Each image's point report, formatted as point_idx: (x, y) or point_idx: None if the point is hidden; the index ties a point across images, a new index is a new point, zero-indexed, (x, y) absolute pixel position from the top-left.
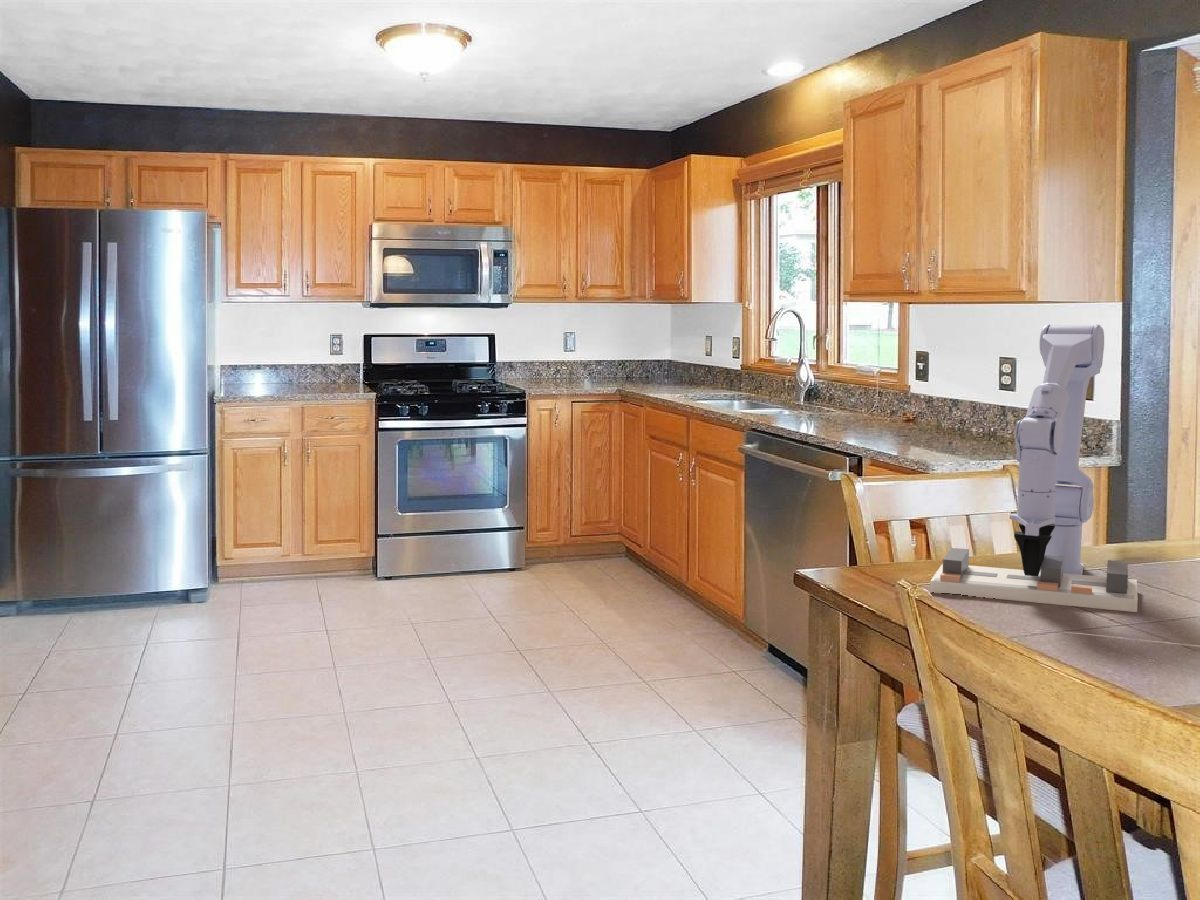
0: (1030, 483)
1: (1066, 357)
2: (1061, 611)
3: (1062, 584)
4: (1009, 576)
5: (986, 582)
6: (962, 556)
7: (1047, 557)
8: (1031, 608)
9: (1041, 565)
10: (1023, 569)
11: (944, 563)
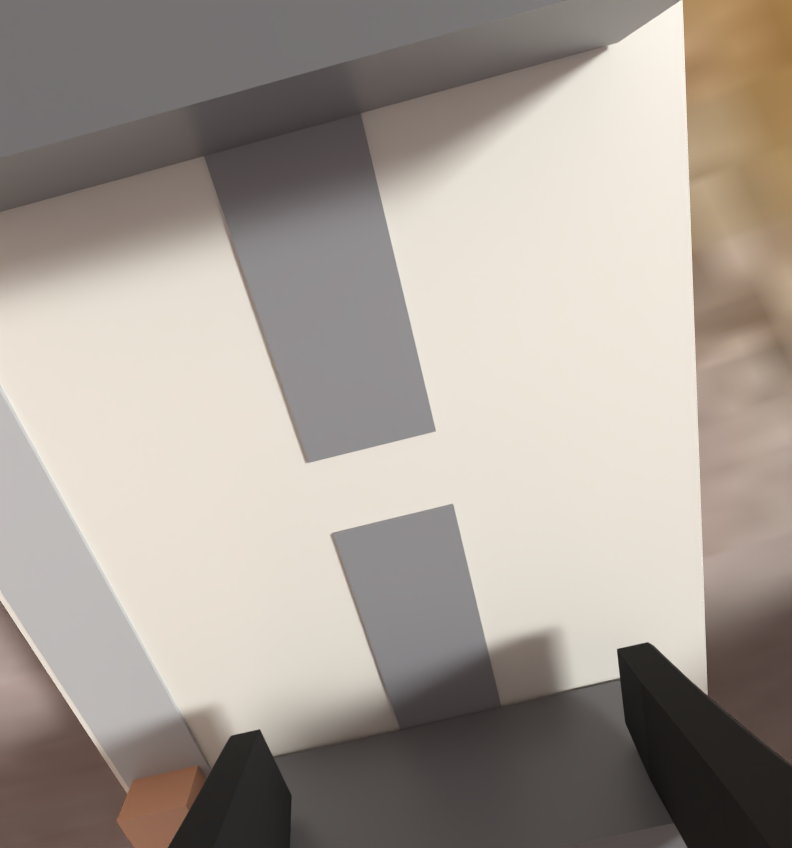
0: None
1: None
2: (107, 812)
3: None
4: (386, 539)
5: (33, 474)
6: (85, 92)
7: (657, 845)
8: (38, 711)
9: (629, 732)
10: (210, 776)
11: None
